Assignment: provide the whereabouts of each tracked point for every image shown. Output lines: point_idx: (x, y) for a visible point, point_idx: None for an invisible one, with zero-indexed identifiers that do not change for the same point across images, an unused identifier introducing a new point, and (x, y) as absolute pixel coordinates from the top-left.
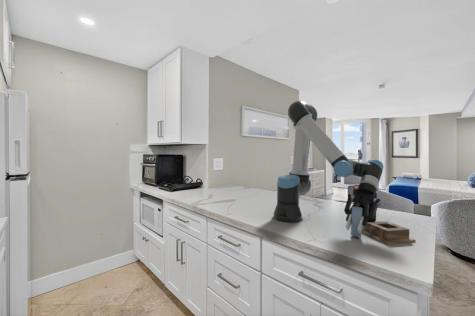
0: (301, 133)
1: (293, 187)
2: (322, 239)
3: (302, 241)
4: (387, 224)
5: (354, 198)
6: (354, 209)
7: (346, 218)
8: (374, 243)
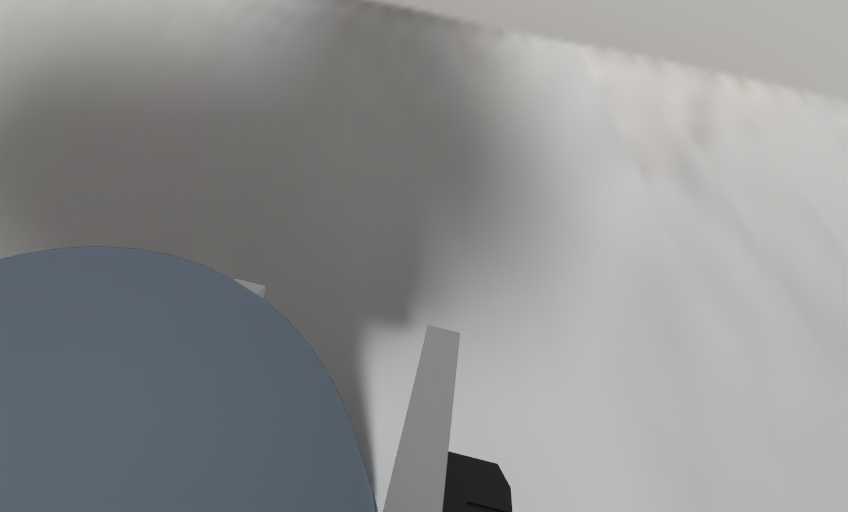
0: None
1: None
2: (628, 202)
3: (730, 79)
4: None
5: None
6: (237, 296)
7: (501, 502)
8: None
